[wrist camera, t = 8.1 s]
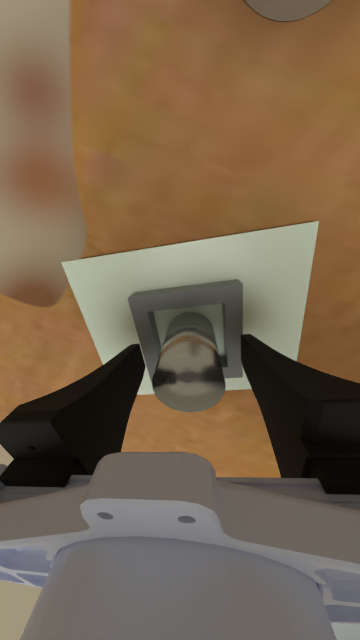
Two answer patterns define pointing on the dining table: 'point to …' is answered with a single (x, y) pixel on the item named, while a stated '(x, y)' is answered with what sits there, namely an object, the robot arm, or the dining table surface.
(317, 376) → the robot arm
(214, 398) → the key peg
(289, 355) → the socket
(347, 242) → the dining table surface
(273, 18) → the coffee cup
